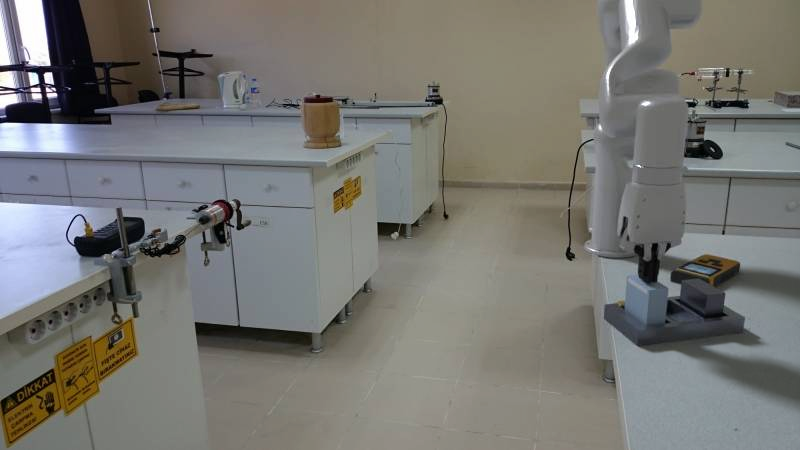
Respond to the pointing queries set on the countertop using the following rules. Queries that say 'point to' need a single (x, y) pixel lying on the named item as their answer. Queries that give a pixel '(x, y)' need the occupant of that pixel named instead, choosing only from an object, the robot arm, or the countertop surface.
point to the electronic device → (706, 270)
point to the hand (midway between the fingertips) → (647, 279)
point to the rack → (681, 316)
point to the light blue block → (646, 300)
